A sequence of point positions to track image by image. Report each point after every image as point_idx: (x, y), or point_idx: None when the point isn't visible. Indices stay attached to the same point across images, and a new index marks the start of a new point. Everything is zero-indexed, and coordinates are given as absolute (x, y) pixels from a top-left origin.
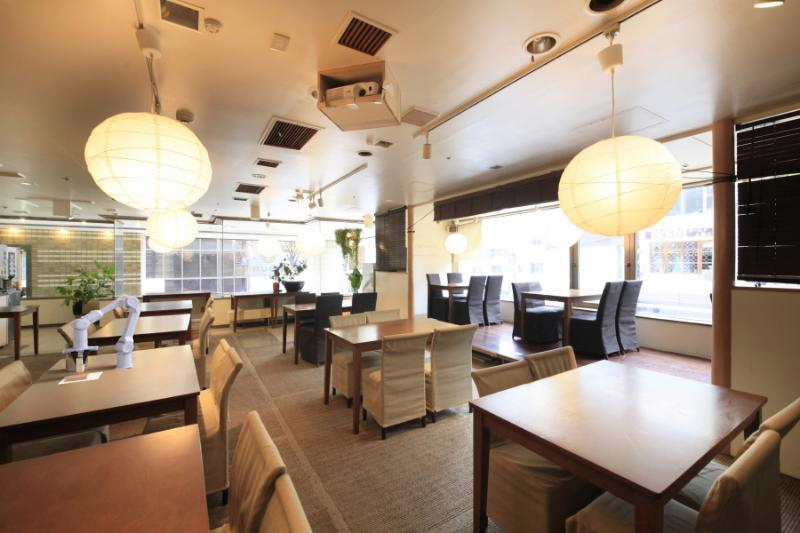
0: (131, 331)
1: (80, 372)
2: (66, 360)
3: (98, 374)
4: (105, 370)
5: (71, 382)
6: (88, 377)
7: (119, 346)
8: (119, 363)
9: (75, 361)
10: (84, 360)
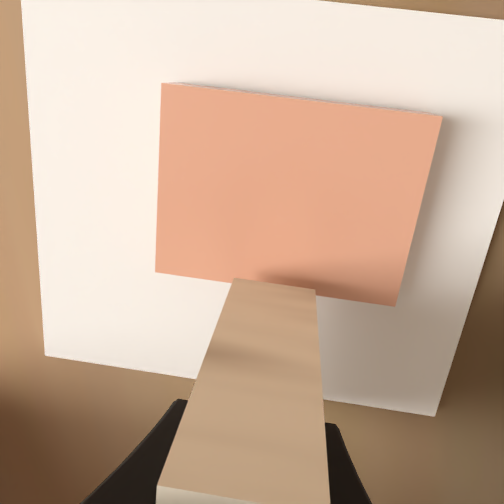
0: None
1: (261, 284)
2: None
3: (68, 250)
4: (45, 417)
5: (367, 11)
6: None
7: None
8: None
9: (346, 487)
10: (144, 454)
